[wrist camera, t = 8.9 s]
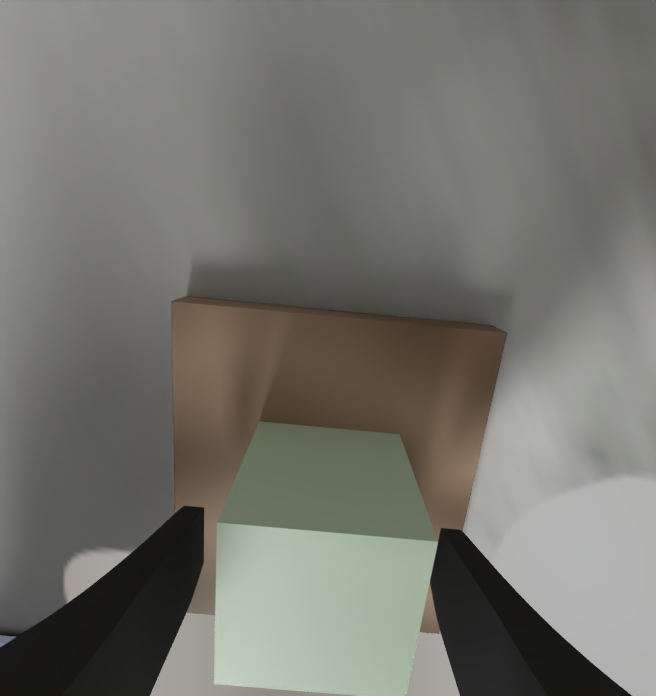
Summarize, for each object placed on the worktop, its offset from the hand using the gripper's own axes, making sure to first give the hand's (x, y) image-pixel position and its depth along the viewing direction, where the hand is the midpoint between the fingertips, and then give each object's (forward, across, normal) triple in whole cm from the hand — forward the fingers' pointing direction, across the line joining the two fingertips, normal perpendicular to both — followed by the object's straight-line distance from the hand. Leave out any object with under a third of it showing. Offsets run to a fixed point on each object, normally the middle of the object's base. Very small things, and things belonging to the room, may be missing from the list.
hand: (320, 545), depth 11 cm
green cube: (+3, 0, 0) cm, 3 cm away
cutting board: (+4, 0, 0) cm, 4 cm away
